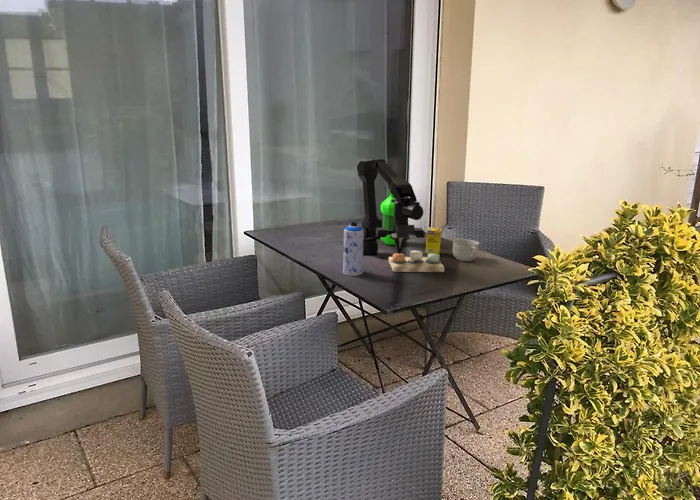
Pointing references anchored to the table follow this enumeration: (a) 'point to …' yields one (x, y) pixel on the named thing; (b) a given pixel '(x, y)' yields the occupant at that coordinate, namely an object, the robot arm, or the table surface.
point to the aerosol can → (353, 250)
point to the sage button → (433, 257)
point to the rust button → (398, 257)
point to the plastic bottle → (388, 217)
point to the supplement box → (433, 240)
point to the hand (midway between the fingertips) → (399, 253)
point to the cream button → (416, 255)
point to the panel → (416, 265)
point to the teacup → (465, 249)
